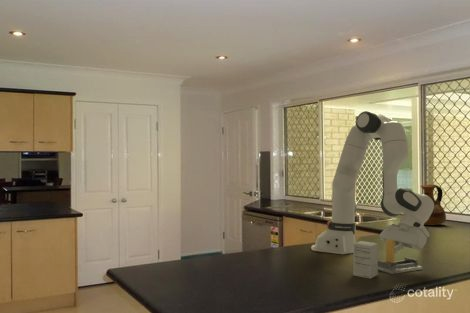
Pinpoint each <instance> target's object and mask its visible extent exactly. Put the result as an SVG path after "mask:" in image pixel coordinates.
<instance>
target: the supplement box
mask: <svg viewBox="0 0 470 313" xmlns="http://www.w3.org/2000/svg"><path fill="white" fill-rule="evenodd" d="M352 254H353V259H352V260H353V264H352V271H353V272H352V275H353V276H356V277H361V278H366V279H372V278H374V277H376V276H378V273H379V272H378V271H379V270H378V260H379V243H377V242H371V241H370V242H369V241H363V240H359V241H356V242H355V243H354V253H352Z"/></svg>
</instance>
